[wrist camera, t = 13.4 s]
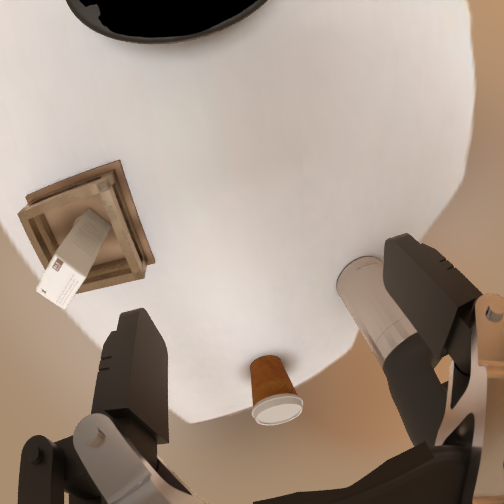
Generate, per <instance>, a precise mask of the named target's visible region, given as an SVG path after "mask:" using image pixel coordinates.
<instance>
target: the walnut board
mask: <svg viewBox="0 0 504 504" xmlns="http://www.w3.org/2000/svg"><path fill="white" fill-rule="evenodd" d="M113 169H115V171H116V174H117V177H118V180H119V183H120V186H121V189H122V192H123V195H124V198H125V201H126V204H127V207H128V209H129V212H130V215H131V218H132V221H133V223H134V226H135V229H136V231H137V234H138V236H139V239H140V242H141V244H142V247H143V249H144V252H145V254H146V257H147V259H148V261H147V265H150V264H154V263H155V259H154V257H153V254H152V252H151V249H150V246H149V244H148V241H147V239H146V236H145V233H144V230H143V228H142V225H141V222H140V219H139V217H138V214H137V211H136V208H135V205H134V202H133V199H132V196H131V193H130V190H129V187H128V184H127V181H126V178H125V175H124V172H123V168H122V165H121V162H120V160H118V161H115V162H112V163H109V164H106V165H103V166H100V167H97V168H94V169H91V170H89V171H86V172H83V173H81V174H78V175H75V176H73V177H70V178H67V179H65V180H62V181H60V182H57V183H55V184H52V185H50V186H48V187H45V188H43V189H41V190H38V191H36V192H34V193H31V194H29V195H27V196H26V197H25V198H26V200H27V202H28V203H29V202H30V201H31V200H33V199H36V198H38V197H40V196H43V195H45V194H48V193H50V192H53V191H55V190H58V189H60V188H63V187H65V186H68V185H70V184H73V183H76V182H79V181H81V180H84V179H87V178H90V177H92V176H95V175H98V174H101V173H104V172H107V171H110V170H113ZM88 208H90V209H91V210H93V211H94V212H95V213H97V214H98V215H99V216H101V217H102V218H103V219H104V220H106V221H107V222H108V223H109V224H111V222H110V219H109V216H108V214H107V211H106V209H105V206H104V203H103V201H102V198H101V195H100V193H98V194H95V195H92V196H89V197H87V198H84V199H81V200H78V201H75V202H72V203H69V204H67V205H64V206H61V207H59V208H56V209H53V210H51V211H48V212H45V213H44V214H45V217H46V219H47V221H48V223H49V226H50V228H51V230H52V232H53V234H54V236H55V239H56V241H57V243H58V245H59V246H60V245H61V244H62V242H63V241H64V239H65V238H66V236H67V235H68V234H69V232H70V231H71V230H72V228H73V227H74V226H75V224H76V223H77V222H78V220H79V219H80V218H81V216H82V215H83V214H84V212H85V211H86V210H87V209H88ZM111 226H112V224H111ZM122 258H125V255H124V253H123V251H122V248H121V246H120V244H119V241H118V239H117V236H116V234H115V232H114V229H113V227H111V229H110V231H109V233H108V235H107V237H106V239H105V240H104V242H103V244H102V247H101V248H100V251H99V253H98V255H97V257H96V259H95V261H94V263H93V265H92V266H94V265H98V264H102V263H106V262H110V261H114V260H118V259H122Z"/></svg>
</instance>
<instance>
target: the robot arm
mask: <svg viewBox="0 0 504 504" xmlns="http://www.w3.org/2000/svg"><path fill="white" fill-rule="evenodd" d="M337 291H338V293H339V295H340V297H341V298H342V300H343V302H344V303H345V305H346V307H347V309H348V310H349V312H350V314H351V315H352V317H353V319H354V320H355V322H356V324H357V326H358V327H359V329H360V331H361V333H362V334H363V336H364V338H365V339H366V341H367V343H368V345H369V346H370V348H371V350H372V352H373V354H374V355H375V357H376V359H377V361H378V362H379V364H380V366H381V368H382V370H383V371H384V373H385V375H386V377H387V381H388V385H389V389H390V393H391V395H392V398H393V400H394V402H395V405H396V407H397V409H398V411H399V413H400V416H401V418H402V421H403V423H404V426H405V428H406V431H407V433H408V435H409V437H410V439H411V441H412V443H413V445H414V446H415V447H413V448H412V449H409V450H407V451H405V452H403V453H401V454H399V455H397V456H395V457H393V458H391V459H389V460H387V461H386V462H384V463H383V464H382V465H380V466H379V467H378V468H376V469H375V470H374V471H372V472H371V473H369V474H368V475H367V476H365V477H363V478H362V479H361V480H359V481H358V482H356V483H354V484H353V485H351V486H350V487H347V488H342V489H333V490H323V491H309V492H296V493H293V494H289V495H284V496H280V497H276V498H271V499H266V500H261V501H256V502H253V504H504V297H502V296H500V295H497V294H485V295H483V294H482V293H481V292H480V291H479V290H478V289H477V288H476V287H475V286H474V285H473V284H472V283H471V282H470V281H469V280H468V279H467V278H466V277H465V276H464V275H463V274H462V273H461V272H460V271H458V270H457V268H454V266H453V265H452V264H451V263H450V262H449V261H448V260H447V261H446V258H445V257H444V256H442V255H441V254H440V253H439V252H438V251H437V250H436V249H434V248H432V247H429V246H427V245H425V244H423V243H422V244H420V243H419V242H418V241H416V240H415V239H414V238H413V237H412V236H411V235H409V234H407V233H405V234H402V235H398V236H395V237H392V238H389V239H387V240H386V242H385V248H384V265H383V264H382V263H381V261H380V260H378V259H377V258H375V257H362V258H359V259H357V260H355V261H353V262H352V263H351V264H349V265H348V266H347V267H346V268H345V269H344V270H343V271H342V273H341V274H340V276H339V278H338V282H337ZM448 354H449V355H450V356H451V358H452V360H451V362H450V371H449V381H447V382H445V383H443V384H441V383H440V381H439V379H438V377H437V375H436V373H435V371H434V368H435V367H436V365H437V364H438V363H439V361H440V360H441V359H442V357H444V356H446V355H448ZM168 431H169V429H168V353H167V348H166V345H165V342H164V340H163V338H162V336H161V335H160V333H159V331H158V330H157V328H156V326H155V325H154V323H153V321H152V320H151V318H150V316H149V314H148V313H147V311H146V310H145V309H144V308H139V309H136V310H132V311H128V312H124V313H121V314H120V317H119V322H118V326H117V331H112V332H111V333H110V335H109V337H108V338H107V340H106V341H105V343H104V345H103V350H102V354H101V361H100V365H99V372H98V375H97V380H96V386H95V392H94V398H93V405H92V411H91V415H88V416H86V417H85V418H83V419H82V420H81V421H80V422H79V423H78V425H77V426H76V429H75V431H74V435H73V436H70V437H68V438H65V439H62V440H60V441H57V442H54V443H53V442H52V441H50V440H49V439H47V438H46V437H44V436H42V435H36V436H33V437H31V438H30V439H29V440H28V441H27V442H26V444H25V445H24V447H23V450H22V454H21V463H20V473H19V487H18V504H64V492H66V493H68V494H69V504H209V503H207V502H206V501H204V500H203V499H201V498H200V497H199V496H198V495H196V494H195V493H194V492H193V491H192V490H191V489H190V488H189V487H188V486H187V485H186V484H185V483H184V482H183V481H182V480H181V479H180V478H179V477H178V476H177V475H176V474H175V473H174V472H173V471H172V470H171V469H170V468H169V466H168V465H166V463H165V462H164V461H163V460H162V459H161V458H160V457H159V456H158V455H157V444H166V443H169V432H168Z"/></svg>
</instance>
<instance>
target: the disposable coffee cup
mask: <svg viewBox="0 0 504 504" xmlns="http://www.w3.org/2000/svg"><path fill="white" fill-rule="evenodd" d="M250 369H251V383H252V398H253V409H252V416H253V417H254V418H255V419H256V422H257V423H259V424H262V425H277V424H282V423H285V422H288V421H290V420H292V419H294V418H296V417H297V416H298V415H299V414H301V412H302V405H303V401H302V399H301V398H300V397H299V396H298V395H297V393H296V391H295V389H294V387H293V385H292V383H291V381H290V379H289V377H288V375H287V373H286V371H285V369H284V367H283V364H282V362H281V360H280V359H279V358H278V357H276V356H264V357H261V358H258V359H256V360H255V361H254V362H253V363H252V364H251V366H250Z"/></svg>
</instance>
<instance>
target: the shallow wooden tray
mask: <svg viewBox="0 0 504 504" xmlns="http://www.w3.org/2000/svg"><path fill="white" fill-rule="evenodd" d="M98 193H100V195H101V198H102V201H103V203H104V206H105V209H106V211H107V214H108V216H109V219H110V222H111V224H112V227H113V229H114V232H115V234H116V236H117V239H118V241H119V244H120V246H121V248H122V251H123V253H124V255H125V258H122V259H118V260H114V261H110V262H106V263H102V264H98V265H94V266H92V267H91V268H90V271H89V273H88V275H87V277H86V279H85V280H84V282H83V283H82V285H81V286H80V288H79V289H78V291H77V292H76V294H78V293H82V292H87V291H91V290H95V289H100V288H104V287H108V286H113V285H117V284H122V283H126V282H130V281H135V280H139V279H143V278H144V277H145V272H146V266H147V261H148V259H147V257H146V254H145V252H144V249H143V247H142V244H141V242H140V239H139V236H138V234H137V231H136V229H135V226H134V223H133V221H132V218H131V215H130V212H129V209H128V207H127V204H126V201H125V198H124V195H123V192H122V189H121V186H120V183H119V180H118V177H117V174H116V171H115V169H113V170H110V171H107V172H104V173H101V174H98V175H95V176H92V177H90V178H87V179H84V180H81V181H79V182H76V183H73V184H70V185H68V186H65V187H63V188H60V189H58V190H55V191H53V192H50V193H48V194H45V195H43V196H40V197H38V198H36V199H33V200H31V201H30V202H29V203H28V204H27V205H26V206H25V207H24V208H23V209H22V210H21V211H20V212H19V213H18V216H19V219H20V221H21V223H22V225H23V227H24V229H25V232H26V234H27V236H28V238H29V240H30V242H31V244H32V246H33V248H34V250H35V252H36V254H37V256H38V258H39V259H40V261H41V263H42V265H43V267H44V269H45V270H46V268H47V267H48V265H49V263H50V261H51V259H52V258H53V256H54V254H55V252H56V251H57V249H58V248H59V245H58V243H57V241H56V239H55V236H54V234H53V232H52V230H51V228H50V226H49V223H48V221H47V219H46V217H45V214H44V213H45V212H48V211H51V210H53V209H56V208H59V207H61V206H64V205H67V204H69V203H72V202H75V201H78V200H81V199H84V198H87V197H89V196H92V195H95V194H98Z"/></svg>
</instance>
